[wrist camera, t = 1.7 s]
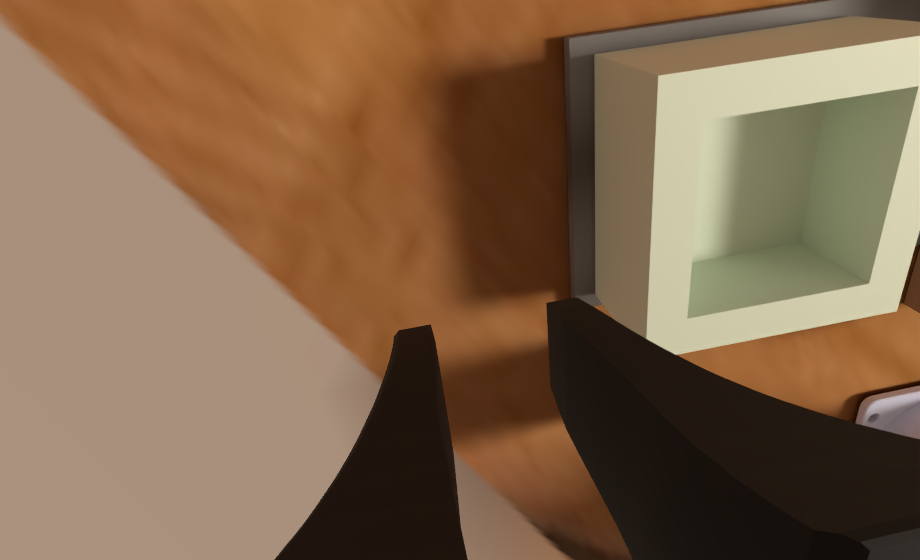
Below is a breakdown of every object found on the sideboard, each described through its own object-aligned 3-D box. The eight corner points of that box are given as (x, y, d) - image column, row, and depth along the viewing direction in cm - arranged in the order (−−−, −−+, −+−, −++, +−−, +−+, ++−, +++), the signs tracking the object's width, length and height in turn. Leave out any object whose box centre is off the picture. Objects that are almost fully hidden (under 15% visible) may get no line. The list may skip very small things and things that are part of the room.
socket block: (807, 255, 21) (896, 311, 18) (595, 295, 21) (645, 360, 17) (852, 15, 18) (977, 26, 14) (594, 54, 17) (658, 75, 13)
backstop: (947, 294, 24) (1113, 384, 19) (572, 368, 23) (639, 487, 18) (1094, -152, 17) (1425, -207, 12) (560, -85, 16) (665, -113, 10)
